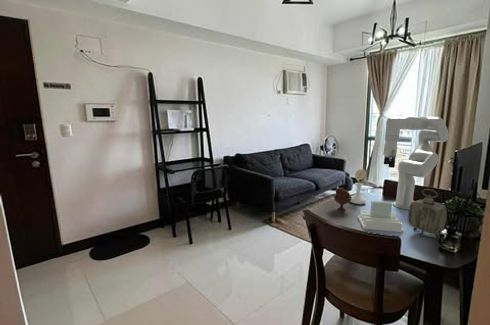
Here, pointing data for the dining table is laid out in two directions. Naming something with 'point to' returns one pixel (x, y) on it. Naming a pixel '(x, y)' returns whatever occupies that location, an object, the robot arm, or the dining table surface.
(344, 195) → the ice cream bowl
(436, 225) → the tabletop clock
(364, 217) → the dish rack
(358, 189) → the flower in vase
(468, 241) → the dining table surface
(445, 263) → the dining table surface
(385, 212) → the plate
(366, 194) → the dining table surface
